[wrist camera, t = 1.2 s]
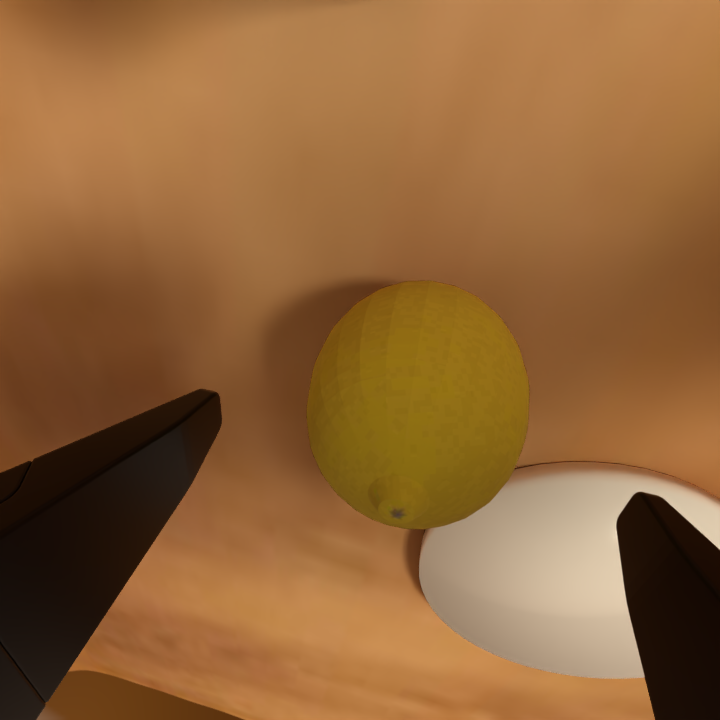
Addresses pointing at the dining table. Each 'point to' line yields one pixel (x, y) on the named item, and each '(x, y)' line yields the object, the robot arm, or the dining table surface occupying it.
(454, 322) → the lemon
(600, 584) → the plate
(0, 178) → the dining table surface
